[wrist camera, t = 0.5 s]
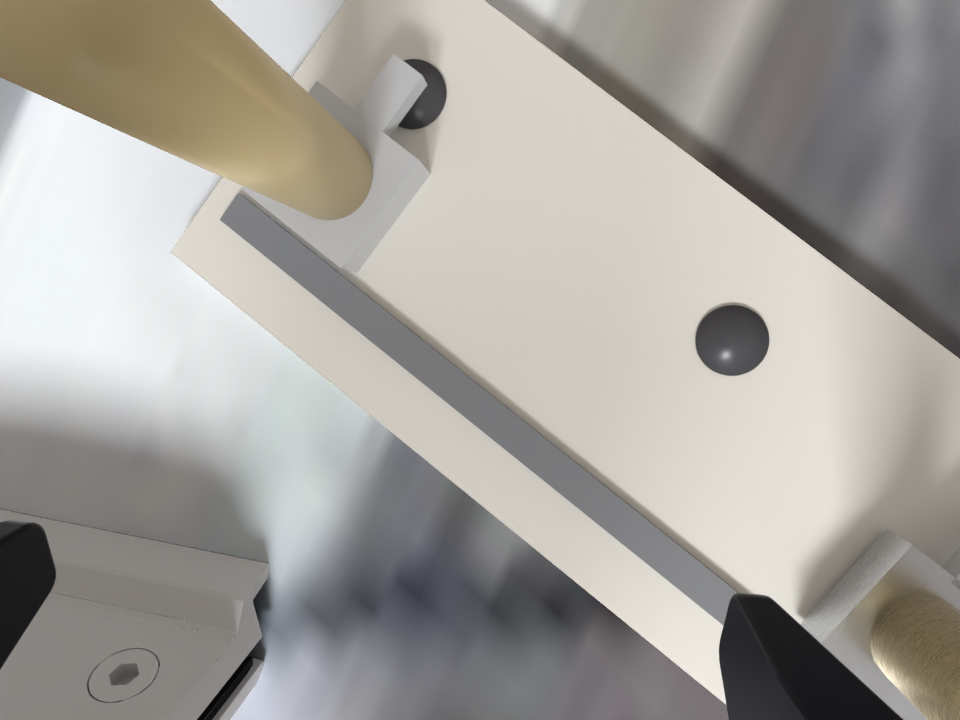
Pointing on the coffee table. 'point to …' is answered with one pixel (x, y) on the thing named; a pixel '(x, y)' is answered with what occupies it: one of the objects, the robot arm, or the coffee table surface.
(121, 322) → the coffee table surface
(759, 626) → the robot arm
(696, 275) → the plate
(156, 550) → the grey blocky piece
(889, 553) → the leg
